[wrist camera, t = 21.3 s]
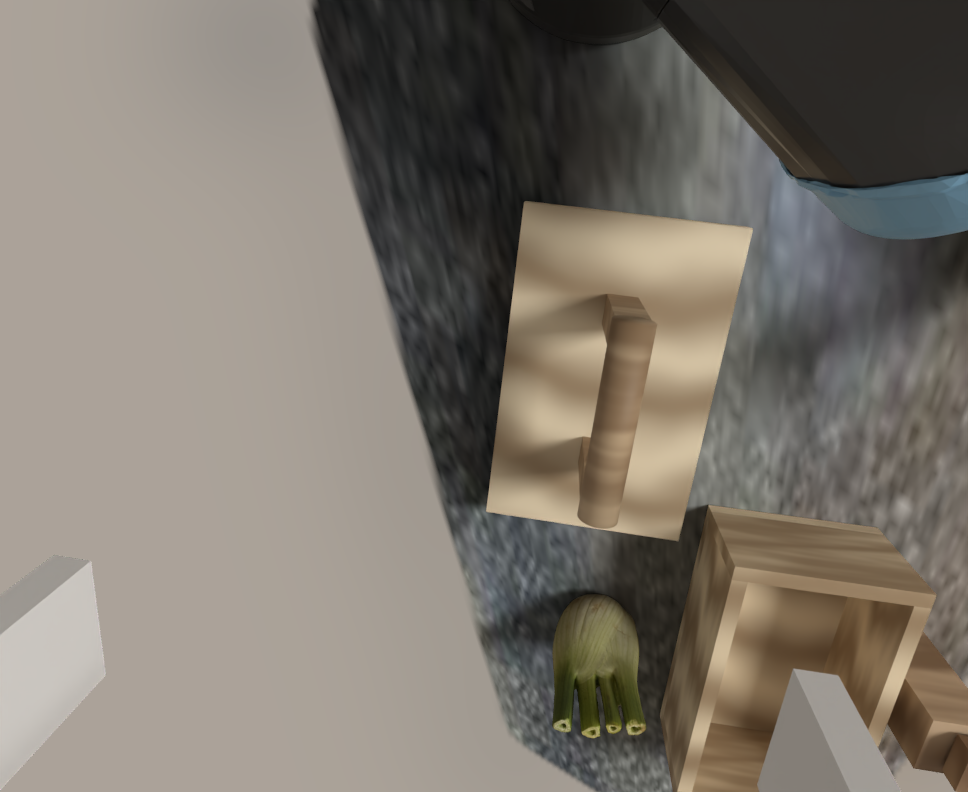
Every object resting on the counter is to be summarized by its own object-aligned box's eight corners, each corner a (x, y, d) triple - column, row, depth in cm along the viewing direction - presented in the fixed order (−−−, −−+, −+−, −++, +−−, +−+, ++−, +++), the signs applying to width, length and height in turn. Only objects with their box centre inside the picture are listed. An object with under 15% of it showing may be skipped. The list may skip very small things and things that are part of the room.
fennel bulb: (549, 619, 53) (544, 739, 42) (574, 572, 51) (577, 685, 40) (614, 646, 53) (627, 773, 42) (641, 600, 51) (663, 720, 40)
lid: (526, 200, 43) (513, 208, 32) (742, 225, 42) (802, 243, 31) (489, 495, 50) (470, 581, 40) (672, 523, 49) (702, 619, 38)
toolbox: (708, 504, 48) (741, 580, 39) (956, 538, 46) (1050, 624, 38) (659, 714, 55) (678, 820, 46) (875, 749, 53) (938, 866, 44)
